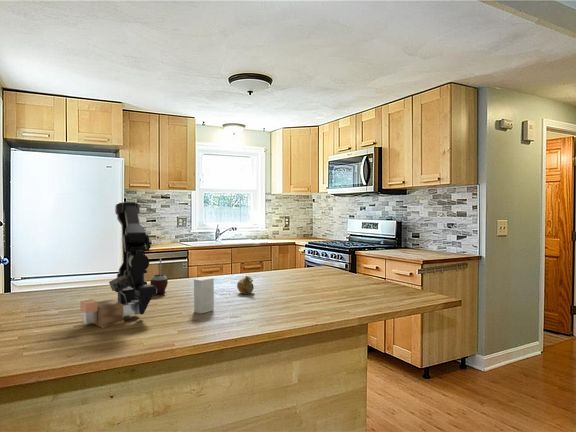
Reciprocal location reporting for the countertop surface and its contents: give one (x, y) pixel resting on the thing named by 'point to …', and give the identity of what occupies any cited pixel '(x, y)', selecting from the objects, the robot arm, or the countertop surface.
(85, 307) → the block
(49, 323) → the countertop surface
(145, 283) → the robot arm
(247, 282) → the onion
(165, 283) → the mate gourd
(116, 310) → the block
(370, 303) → the countertop surface
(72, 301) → the countertop surface
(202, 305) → the skincare box
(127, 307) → the shaft
